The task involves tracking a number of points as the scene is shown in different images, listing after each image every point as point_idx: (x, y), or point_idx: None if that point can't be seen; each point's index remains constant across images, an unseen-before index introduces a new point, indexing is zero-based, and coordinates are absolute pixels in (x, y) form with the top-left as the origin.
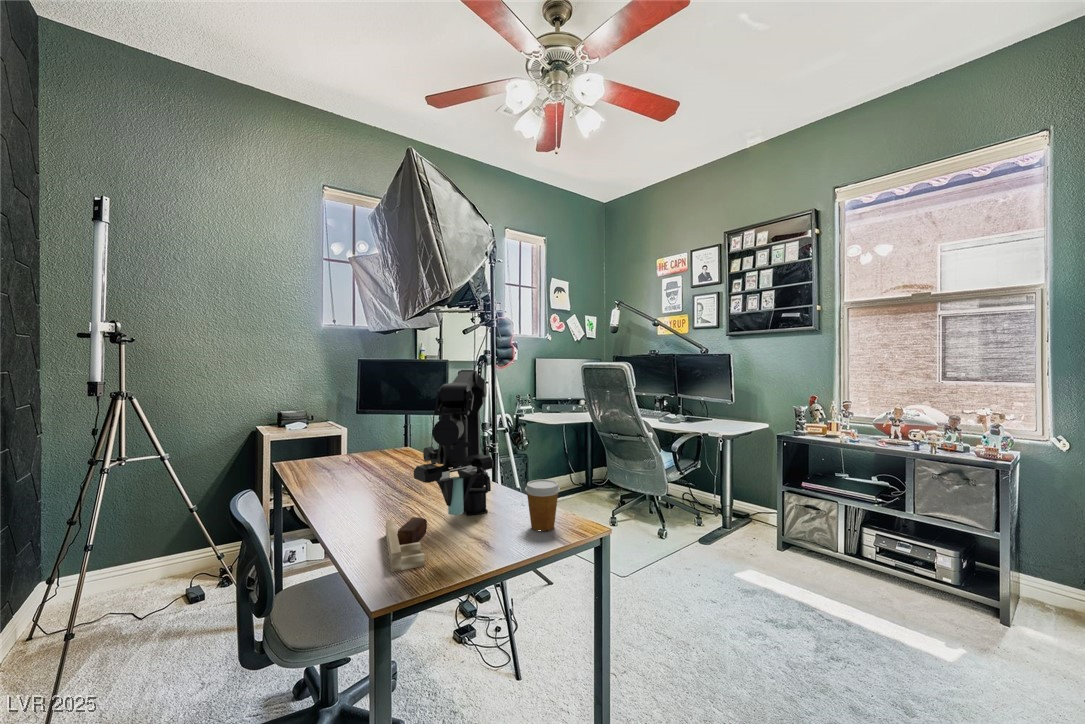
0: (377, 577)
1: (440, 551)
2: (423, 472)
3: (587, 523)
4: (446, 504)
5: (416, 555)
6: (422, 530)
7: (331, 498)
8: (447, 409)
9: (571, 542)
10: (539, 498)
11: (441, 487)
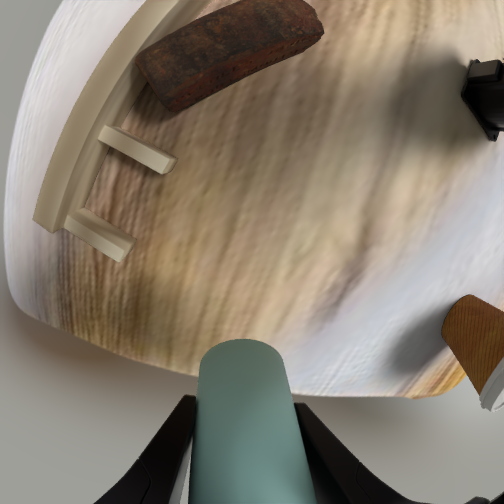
0: (35, 205)
1: (225, 210)
2: None
3: None
4: (183, 397)
5: (100, 246)
6: (273, 58)
7: None
8: None
9: (406, 394)
10: (479, 387)
11: (122, 495)
